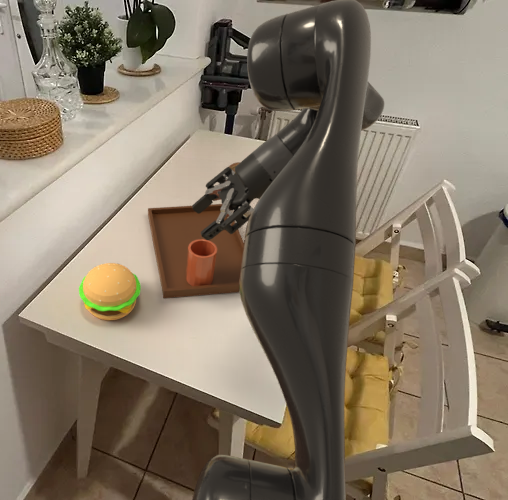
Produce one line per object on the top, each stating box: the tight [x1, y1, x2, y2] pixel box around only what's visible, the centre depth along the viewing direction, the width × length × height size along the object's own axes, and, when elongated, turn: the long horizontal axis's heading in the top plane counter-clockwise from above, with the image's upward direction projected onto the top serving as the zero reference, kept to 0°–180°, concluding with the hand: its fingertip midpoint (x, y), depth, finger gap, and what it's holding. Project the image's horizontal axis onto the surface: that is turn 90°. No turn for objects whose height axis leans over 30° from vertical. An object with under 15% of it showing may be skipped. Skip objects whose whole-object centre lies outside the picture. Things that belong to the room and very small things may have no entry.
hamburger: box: [78, 262, 142, 321], centre depth 84 cm, size 12×12×9 cm
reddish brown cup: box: [186, 239, 217, 286], centre depth 89 cm, size 6×6×8 cm
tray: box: [147, 203, 244, 299], centre depth 100 cm, size 30×21×2 cm
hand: (199, 223), depth 82 cm, fingers open, 8 cm apart
